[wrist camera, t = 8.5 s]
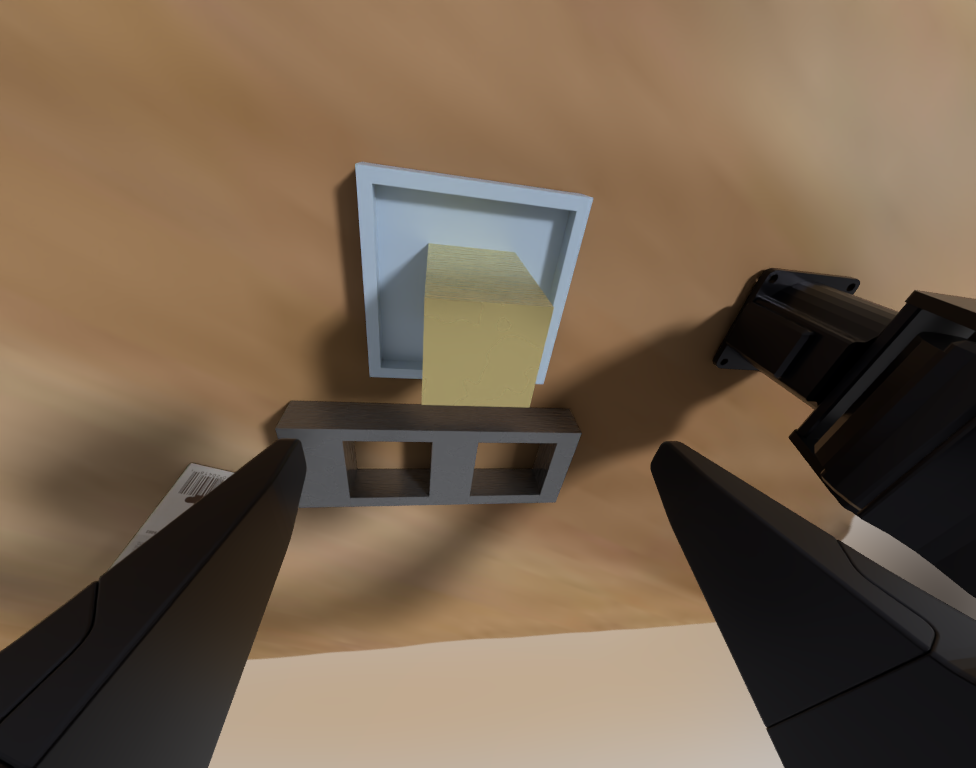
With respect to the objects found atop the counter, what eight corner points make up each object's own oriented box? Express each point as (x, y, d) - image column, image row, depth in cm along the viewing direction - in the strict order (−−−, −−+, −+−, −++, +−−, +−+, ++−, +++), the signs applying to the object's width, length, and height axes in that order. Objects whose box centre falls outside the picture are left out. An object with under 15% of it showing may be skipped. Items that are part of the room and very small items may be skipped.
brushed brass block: (502, 329, 19) (529, 407, 14) (426, 324, 19) (421, 405, 13) (514, 252, 17) (554, 307, 11) (428, 243, 16) (424, 297, 11)
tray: (581, 193, 17) (593, 198, 15) (537, 370, 22) (543, 384, 21) (361, 161, 15) (355, 163, 14) (373, 362, 20) (369, 376, 19)
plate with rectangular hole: (569, 408, 24) (581, 433, 22) (546, 476, 28) (555, 502, 26) (290, 400, 21) (275, 428, 19) (308, 477, 25) (297, 507, 23)
